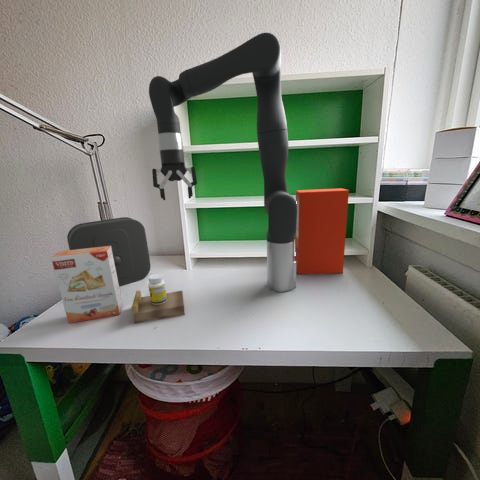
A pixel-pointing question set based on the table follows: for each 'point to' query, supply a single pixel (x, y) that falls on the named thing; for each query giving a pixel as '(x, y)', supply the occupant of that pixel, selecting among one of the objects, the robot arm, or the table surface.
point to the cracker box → (88, 283)
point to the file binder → (321, 230)
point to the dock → (157, 307)
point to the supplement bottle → (157, 289)
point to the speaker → (116, 245)
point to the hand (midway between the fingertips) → (177, 199)
